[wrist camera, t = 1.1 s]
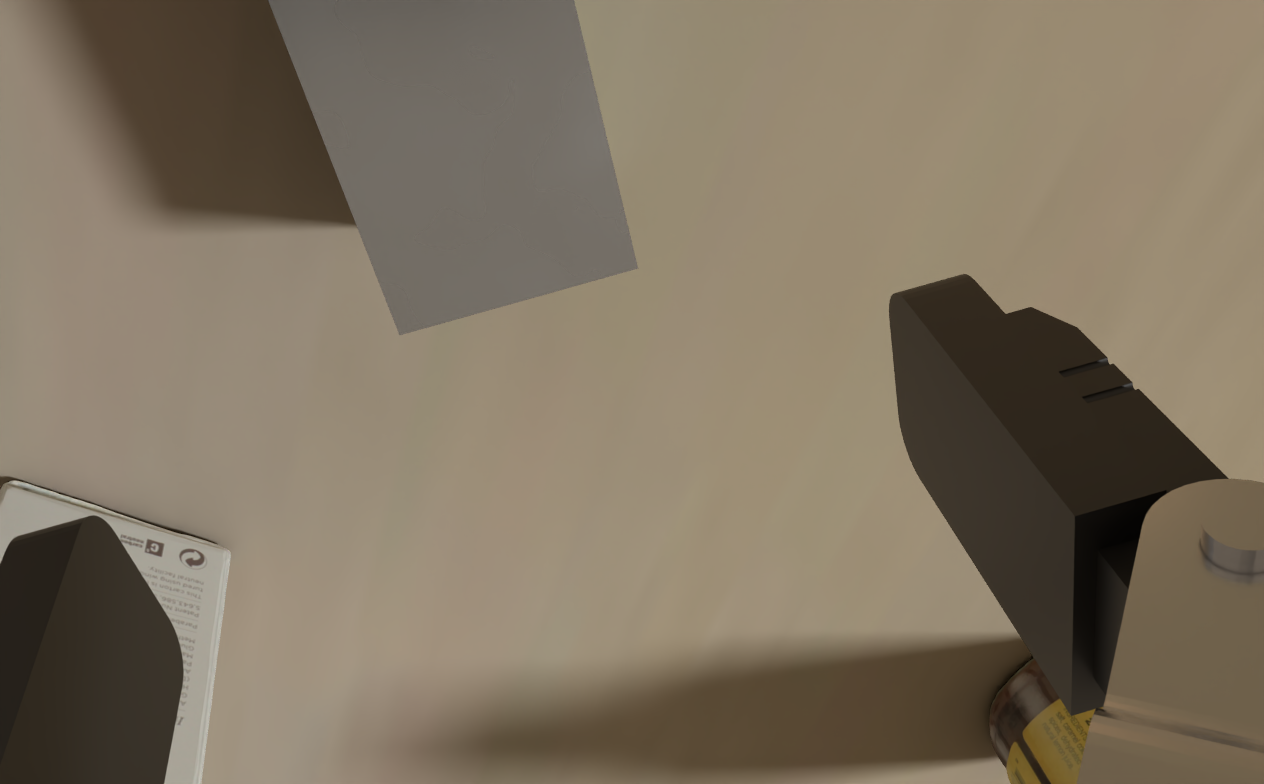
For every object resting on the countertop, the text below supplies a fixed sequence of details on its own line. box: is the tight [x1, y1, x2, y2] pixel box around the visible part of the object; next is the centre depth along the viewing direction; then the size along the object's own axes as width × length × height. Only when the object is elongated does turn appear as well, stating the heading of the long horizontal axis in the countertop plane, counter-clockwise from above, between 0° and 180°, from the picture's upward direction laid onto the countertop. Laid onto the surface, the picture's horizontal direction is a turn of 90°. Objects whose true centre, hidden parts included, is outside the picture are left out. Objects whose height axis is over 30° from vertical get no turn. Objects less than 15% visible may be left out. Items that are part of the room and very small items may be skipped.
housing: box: [268, 0, 638, 335], centre depth 22 cm, size 8×5×5 cm, turn 12°
